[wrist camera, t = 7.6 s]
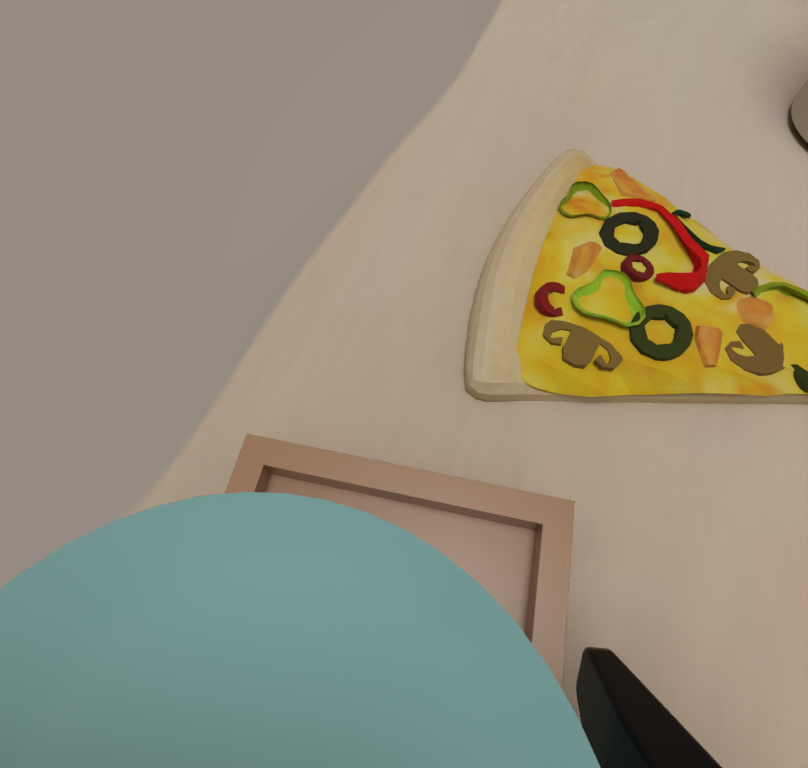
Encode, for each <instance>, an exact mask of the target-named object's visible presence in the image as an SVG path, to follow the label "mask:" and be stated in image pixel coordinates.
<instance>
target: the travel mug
mask: <svg viewBox="0 0 808 768" xmlns="http://www.w3.org/2000/svg"><path fill="white" fill-rule="evenodd" d="M791 115H792V120H793V123H794V125H795V127H796V129H797V131H798V132H799V134H800V135H801V136H802V137H803V138H804V140H805V141H806V142H807V143H808V81H807V83H806V84H805V85H804V87H803V88H802V89H801V91H800V92H799V94H798V95H797V96H796V98H795V99H794V101H793V104H792V108H791Z"/></svg>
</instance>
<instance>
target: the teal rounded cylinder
mask: <svg viewBox="0 0 808 768" xmlns="http://www.w3.org/2000/svg"><path fill="white" fill-rule="evenodd" d="M0 768H601V767H600V765H599V763H598V761H597V759H596V756H595V754H594V752H593V750H592V747H591V745H590V743H589V741H588V739H587V736H586V734H585V732H584V730H583V727H582V725H581V723H580V721H579V719H578V716H577V714H576V713H575V711H574V709H573V707H572V706H571V704H570V702H569V701H568V699H567V697H566V695H565V694H564V692H563V690H562V689H561V687H560V685H559V683H558V682H557V680H556V678H555V677H554V675H553V673H552V671H551V670H550V668H549V666H548V665H547V663H546V662H545V660H544V659H543V658H542V656H541V655H540V654H539V652H538V651H537V650H536V648H535V647H534V646H533V644H532V643H531V642H530V640H529V639H528V638H527V636H526V635H525V634H524V632H523V631H522V630H521V628H520V627H519V626H518V624H517V623H516V622H515V620H514V619H513V618H512V617H511V616H510V615H509V614H508V613H507V612H506V611H505V610H504V609H503V608H502V607H501V605H500V604H499V603H498V602H497V601H496V600H495V599H494V598H493V597H492V596H491V595H490V594H489V593H488V592H487V591H486V590H485V589H484V588H483V586H482V585H481V584H480V583H478V582H477V581H476V580H475V579H473V578H472V577H471V576H470V575H469V574H467V573H466V572H465V571H464V570H463V569H461V568H460V567H459V566H458V565H457V564H455V563H454V562H453V561H452V560H450V559H449V558H448V557H447V556H446V555H444V554H443V553H441V552H440V551H438V550H437V549H435V548H433V547H432V546H430V545H429V544H427V543H426V542H424V541H422V540H421V539H419V538H418V537H416V536H414V535H413V534H411V533H410V532H408V531H406V530H405V529H402V528H400V527H398V526H396V525H394V524H391V523H389V522H387V521H385V520H383V519H380V518H378V517H376V516H374V515H372V514H370V513H367V512H365V511H361V510H358V509H355V508H351V507H348V506H345V505H342V504H338V503H335V502H332V501H328V500H325V499H318V498H312V497H306V496H299V495H293V494H287V493H263V492H236V493H227V494H217V495H207V496H198V497H194V498H190V499H185V500H181V501H177V502H172V503H168V504H164V505H159V506H155V507H152V508H149V509H147V510H144V511H141V512H138V513H135V514H133V515H130V516H127V517H124V518H122V519H119V520H116V521H113V522H111V523H108V524H106V525H104V526H102V527H100V528H98V529H96V530H94V531H92V532H90V533H88V534H86V535H84V536H82V537H80V538H78V539H76V540H74V541H72V542H70V543H68V544H66V545H64V546H63V547H61V548H59V549H58V550H56V551H55V552H53V553H51V554H50V555H48V556H47V557H45V558H43V559H42V560H40V561H39V562H37V563H36V564H34V565H32V566H31V567H29V568H27V569H26V570H24V571H23V572H21V573H20V574H19V575H18V576H16V577H15V578H14V579H12V580H11V581H10V582H8V583H7V584H6V585H4V586H3V587H2V588H1V589H0Z"/></svg>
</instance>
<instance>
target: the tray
mask: <svg viewBox="0 0 808 768" xmlns="http://www.w3.org/2000/svg"><path fill="white" fill-rule="evenodd" d="M236 492H263V493H287V494H293V495H299V496H306V497H312V498H318V499H325V500H328V501H332V502H335V503H338V504H342V505H345V506H348V507H351V508H355V509H358V510H361V511H365V512H367V513H370V514H372V515H374V516H376V517H378V518H380V519H383V520H385V521H387V522H389V523H391V524H394V525H396V526H398V527H400V528H402V529H405V530H406V531H408V532H410V533H411V534H413V535H414V536H416V537H418V538H419V539H421V540H422V541H424V542H426V543H427V544H429V545H430V546H432V547H433V548H435V549H437V550H438V551H440V552H441V553H443V554H444V555H446V556H447V557H448V558H449V559H450V560H452V561H453V562H454V563H455V564H457V565H458V566H459V567H460V568H461V569H463V570H464V571H465V572H466V573H467V574H469V575H470V576H471V577H472V578H473V579H475V580H476V581H477V582H478V583H480V584H481V585H482V586H483V588H484V589H485V590H486V591H487V592H488V593H489V594H490V595H491V596H492V597H493V598H494V599H495V600H496V601H497V602H498V603H499V604H500V605H501V607H502V608H503V609H504V610H505V611H506V612H507V613H508V614H509V615H510V616H511V617H512V618H513V619H514V620H515V622H516V623H517V624H518V626H519V627H520V628H521V630H522V631H523V632H524V634H525V635H526V636H527V638H528V639H529V640H530V642H531V643H532V644H533V646H534V647H535V648H536V650H537V651H538V652H539V654H540V655H541V656H542V658H543V659H544V660H545V662H546V663H547V665H548V666H549V668H550V670H551V671H552V673H553V675H554V677H555V678H556V680H557V682H558V683H559V685H560V687H561V689H562V682H563V667H564V653H565V638H566V623H567V608H568V593H569V578H570V563H571V548H572V533H573V518H574V503H575V501H570V500H565V499H560V498H555V497H551V496H546V495H541V494H536V493H531V492H526V491H522V490H517V489H512V488H507V487H502V486H497V485H492V484H488V483H483V482H478V481H473V480H468V479H463V478H459V477H454V476H449V475H444V474H439V473H434V472H430V471H425V470H420V469H415V468H410V467H405V466H401V465H396V464H391V463H386V462H381V461H376V460H371V459H367V458H362V457H357V456H352V455H347V454H342V453H338V452H333V451H328V450H323V449H318V448H313V447H309V446H304V445H299V444H294V443H289V442H284V441H279V440H275V439H270V438H265V437H260V436H255V435H250V434H247V435H246V438H245V440H244V443H243V446H242V448H241V451H240V454H239V456H238V459H237V462H236V464H235V467H234V470H233V472H232V475H231V478H230V480H229V483H228V486H227V488H226V491H225V494H227V493H236Z"/></svg>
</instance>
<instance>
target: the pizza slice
mask: <svg viewBox="0 0 808 768" xmlns="http://www.w3.org/2000/svg"><path fill="white" fill-rule="evenodd" d="M690 216H691V214H690V213H688V212H685V211H682V210H678V209H677V208H676V207H675V206H673V205H672V204H671V203H670V202H669V201H668V200H666V199H665V198H664V197H663V196H661V195H660V194H658V193H656V192H655V191H653V190H652V189H650V188H648V187H647V186H645V185H644V184H642V183H640V182H639V181H637V180H636V179H634V178H632V177H630V176H629V175H628V174H627V173H626V172H625V171H624V170H622V169H620V168H618V169H614V168H612V167H604V166H597V165H596V164H595V162H594V161H593V160H592V159H591V158H590V157H589V156H588V155H587V154H586V153H585V152H584V151H582V150H577V149H573V150H567V151H566V152H564V153H562V154H561V155H560V156H558V157H557V158H556V159H555V160H554V161H553V162H552V164H551V165H550V166H549V167H548V168H547V169H546V170H545V171H544V173H543V174H542V175H541V176H540V177H539V178H538V180H537V181H536V182H535V183H534V184H533V185H532V187H531V188H530V189H529V191H528V192H527V193H526V194H525V196H524V197H523V198H522V199H521V201H520V202H519V203H518V204H517V206H516V207H515V209H514V210H513V212H512V214H511V215H510V217H509V219H508V220H507V222H506V224H505V225H504V227H503V229H502V230H501V232H500V234H499V235H498V237H497V239H496V242H495V244H494V246H493V248H492V250H491V252H490V254H489V256H488V258H487V260H486V263H485V266H484V269H483V272H482V275H481V277H480V280H479V283H478V286H477V289H476V294H475V298H474V303H473V308H472V312H471V317H470V323H469V331H468V338H467V346H466V357H465V383H466V390H467V392H468V393H469V394H471V395H472V396H473V397H474V398H476V399H479V400H483V401H580V402H663V403H758V404H808V291H806V290H804V289H802V288H800V287H798V286H797V285H795V284H793V283H791V282H790V281H788V280H786V279H784V278H782V277H781V276H779V275H777V274H775V273H774V272H772V271H770V270H768V269H767V268H765V267H763V266H761V265H760V263H759V260H757V259H756V258H755V257H753V256H752V255H751V254H749V253H745V252H741V251H737V250H735V251H734V250H732V249H731V248H730V247H728V246H727V245H726V244H725V243H723V242H722V241H721V240H719V239H718V238H717V237H716V236H714V235H713V234H712V233H711V232H710V231H708V230H707V229H706V228H705V227H703V226H702V225H701V224H700V223H698V222H697V221H695V220H693V219H692V218H690Z"/></svg>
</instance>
